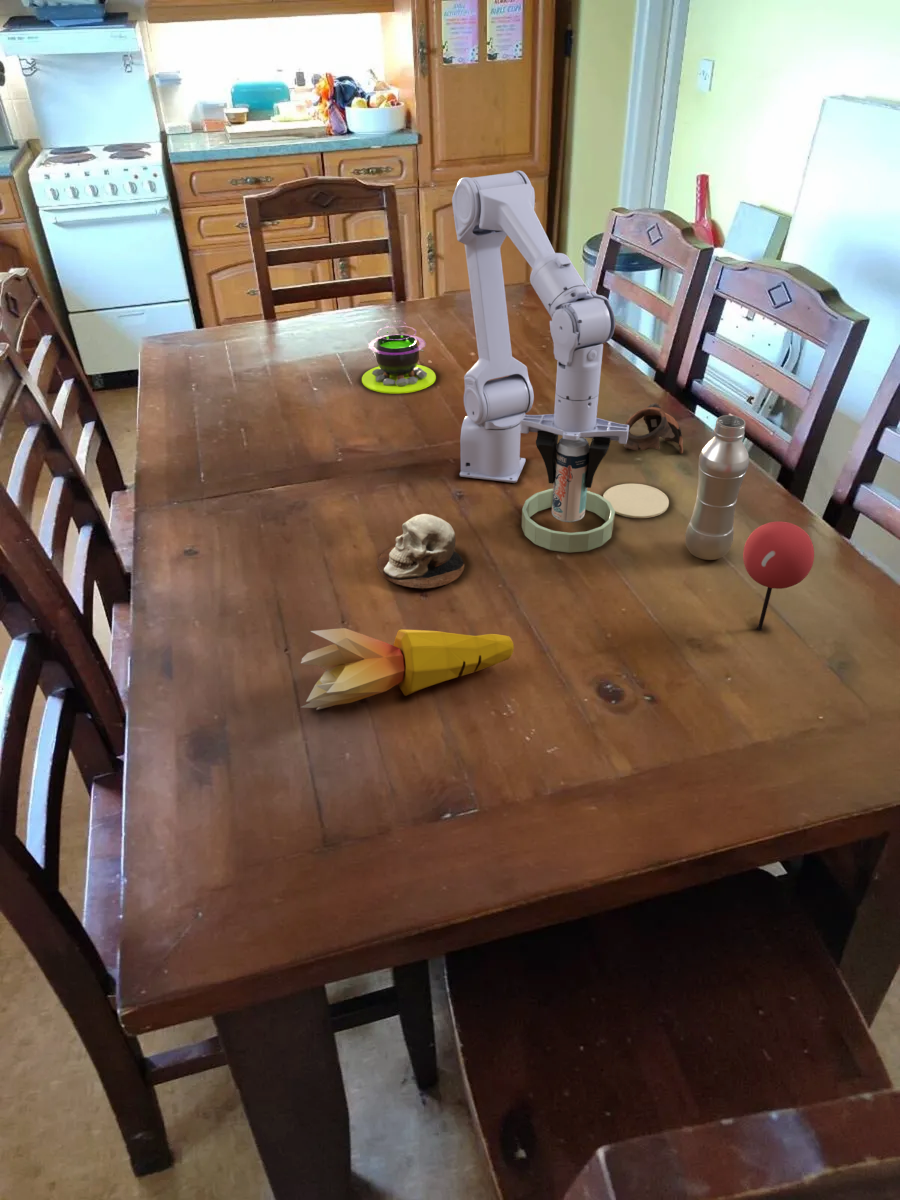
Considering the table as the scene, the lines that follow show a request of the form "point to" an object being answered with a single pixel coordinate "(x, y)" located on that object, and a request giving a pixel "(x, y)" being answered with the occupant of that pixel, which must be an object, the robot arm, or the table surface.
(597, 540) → the ring
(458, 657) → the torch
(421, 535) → the skull
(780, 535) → the lollipop
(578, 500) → the beer can
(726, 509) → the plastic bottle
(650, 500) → the coaster
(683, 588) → the table surface
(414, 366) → the toy cauldron
